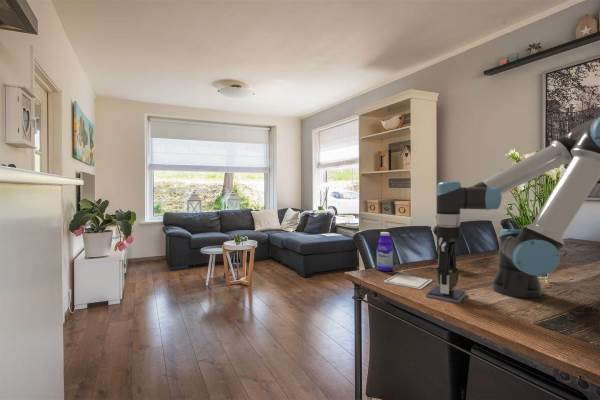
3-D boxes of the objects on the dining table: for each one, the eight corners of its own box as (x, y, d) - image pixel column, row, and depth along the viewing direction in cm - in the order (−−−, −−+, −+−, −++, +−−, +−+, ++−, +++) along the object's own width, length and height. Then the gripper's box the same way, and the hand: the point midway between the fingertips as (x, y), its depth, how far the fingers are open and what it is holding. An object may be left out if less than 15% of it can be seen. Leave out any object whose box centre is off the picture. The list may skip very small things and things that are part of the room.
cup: (461, 295, 113) (461, 272, 113) (438, 294, 115) (438, 271, 114) (455, 288, 120) (455, 266, 120) (434, 287, 122) (434, 265, 122)
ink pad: (466, 294, 119) (467, 291, 119) (459, 303, 110) (459, 299, 110) (435, 288, 125) (435, 285, 125) (425, 296, 117) (425, 292, 117)
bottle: (374, 270, 153) (375, 232, 152) (379, 267, 158) (380, 231, 157) (390, 272, 149) (390, 233, 148) (394, 269, 153) (395, 232, 153)
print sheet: (432, 280, 136) (432, 279, 136) (420, 289, 125) (420, 288, 125) (397, 274, 146) (397, 273, 146) (383, 282, 134) (383, 281, 134)
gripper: (444, 222, 127) (444, 282, 128) (428, 228, 111) (427, 295, 112) (466, 223, 122) (465, 285, 123) (452, 229, 106) (451, 300, 107)
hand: (447, 290), depth 117 cm, fingers closed on cup, 7 cm apart
